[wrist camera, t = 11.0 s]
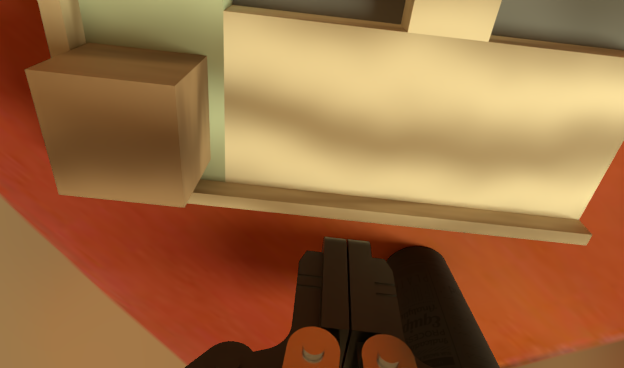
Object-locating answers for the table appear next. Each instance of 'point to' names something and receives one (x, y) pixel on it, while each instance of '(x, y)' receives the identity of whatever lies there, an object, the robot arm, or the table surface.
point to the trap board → (392, 104)
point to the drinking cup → (436, 312)
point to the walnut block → (124, 122)
